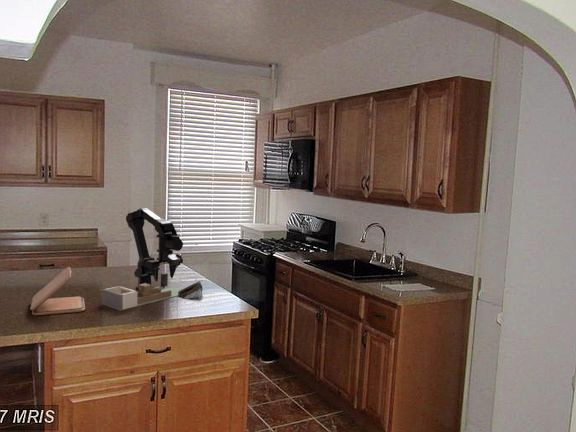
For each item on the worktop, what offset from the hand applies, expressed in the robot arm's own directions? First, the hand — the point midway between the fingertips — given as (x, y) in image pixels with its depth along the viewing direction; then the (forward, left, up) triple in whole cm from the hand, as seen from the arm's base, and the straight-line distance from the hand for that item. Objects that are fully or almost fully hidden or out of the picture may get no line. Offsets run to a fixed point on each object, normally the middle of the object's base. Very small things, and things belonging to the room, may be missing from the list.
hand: (164, 279), depth 238 cm
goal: (0, -24, -8) cm, 25 cm away
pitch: (0, -9, -8) cm, 12 cm away
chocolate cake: (+12, +7, -8) cm, 16 cm away
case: (-16, -44, -8) cm, 48 cm away
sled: (0, -6, -7) cm, 9 cm away
